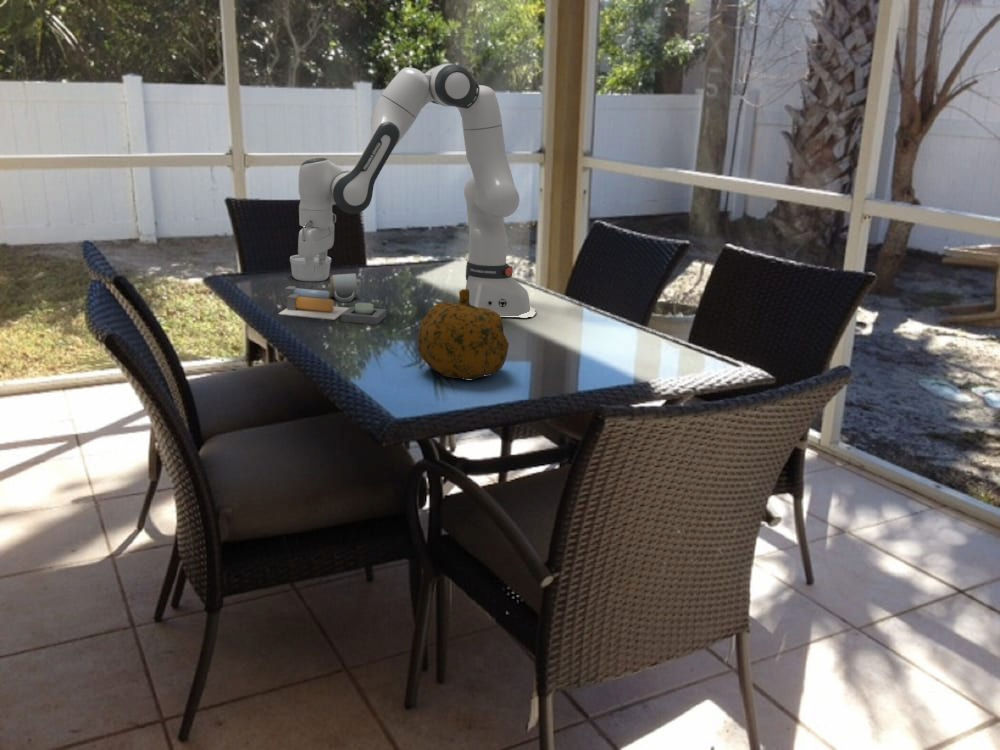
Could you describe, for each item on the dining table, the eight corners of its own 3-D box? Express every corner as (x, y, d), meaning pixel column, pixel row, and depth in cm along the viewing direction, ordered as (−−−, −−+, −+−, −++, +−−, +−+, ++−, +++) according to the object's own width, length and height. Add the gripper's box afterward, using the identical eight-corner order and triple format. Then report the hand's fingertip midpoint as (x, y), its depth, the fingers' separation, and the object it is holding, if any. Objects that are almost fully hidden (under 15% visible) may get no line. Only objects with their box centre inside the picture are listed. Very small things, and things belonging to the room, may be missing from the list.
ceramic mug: (329, 294, 287) (329, 271, 284) (355, 295, 289) (355, 271, 286) (331, 303, 277) (332, 278, 275) (358, 303, 279) (359, 278, 277)
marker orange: (334, 310, 266) (334, 298, 265) (330, 313, 263) (330, 300, 262) (291, 306, 267) (291, 294, 266) (287, 309, 264) (287, 296, 263)
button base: (386, 316, 265) (386, 309, 264) (376, 324, 255) (377, 317, 255) (351, 313, 266) (351, 306, 265) (340, 321, 256) (341, 314, 256)
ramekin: (298, 273, 316) (298, 252, 314) (336, 276, 314) (336, 255, 312) (284, 280, 303) (283, 259, 301) (323, 284, 302) (323, 262, 300)
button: (375, 311, 262) (375, 303, 261) (370, 315, 257) (370, 307, 257) (357, 309, 263) (357, 302, 262) (352, 313, 258) (352, 305, 257)
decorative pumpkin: (436, 387, 203) (441, 294, 199) (406, 368, 221) (409, 282, 217) (521, 385, 211) (527, 295, 207) (485, 366, 229) (490, 284, 226)
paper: (349, 308, 271) (349, 307, 271) (334, 319, 257) (334, 318, 257) (295, 303, 273) (295, 302, 272) (278, 314, 259) (278, 313, 259)
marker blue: (329, 301, 278) (329, 289, 277) (326, 304, 275) (326, 292, 274) (289, 297, 280) (289, 286, 278) (284, 300, 276) (284, 288, 275)
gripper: (314, 224, 247) (315, 277, 251) (337, 214, 267) (338, 263, 271) (291, 223, 248) (292, 275, 252) (316, 213, 268) (317, 262, 272)
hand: (316, 269), depth 262 cm, fingers open, 8 cm apart
